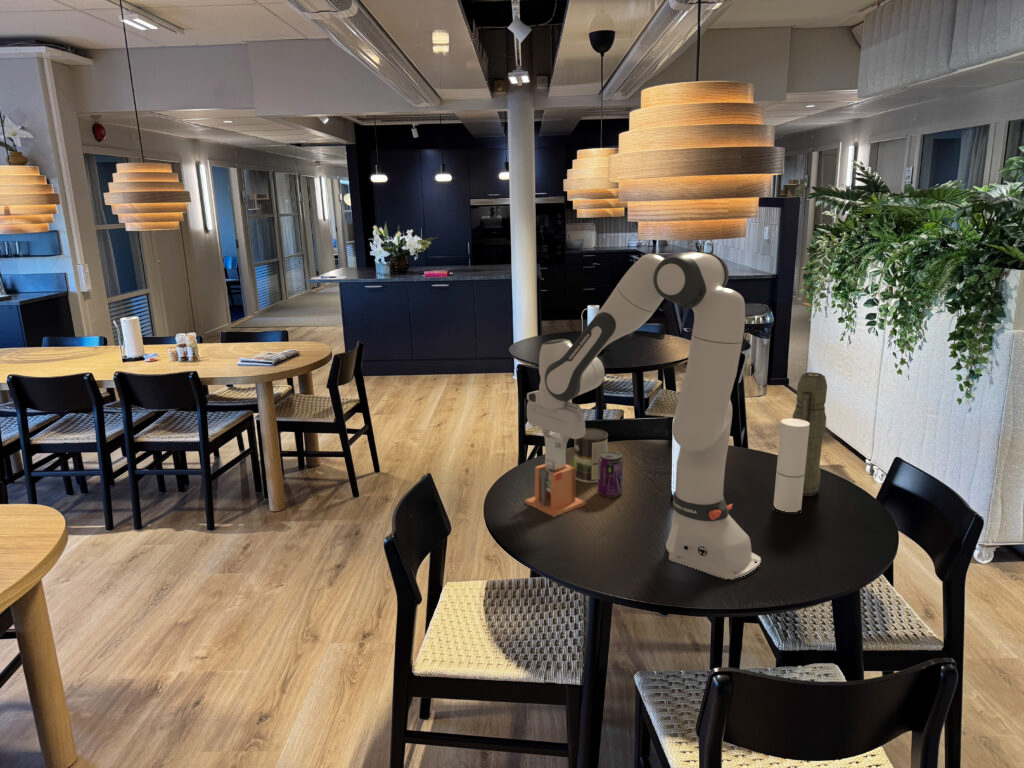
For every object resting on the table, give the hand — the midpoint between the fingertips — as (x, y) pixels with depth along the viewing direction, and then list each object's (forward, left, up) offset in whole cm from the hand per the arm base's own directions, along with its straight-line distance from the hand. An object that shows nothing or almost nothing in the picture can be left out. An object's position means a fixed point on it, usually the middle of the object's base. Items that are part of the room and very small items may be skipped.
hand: (555, 446), depth 196 cm
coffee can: (+8, -22, -17) cm, 29 cm away
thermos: (-40, -61, -17) cm, 75 cm away
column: (0, 0, -13) cm, 13 cm away
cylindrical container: (-44, -46, -17) cm, 66 cm away
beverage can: (-5, -17, -17) cm, 25 cm away
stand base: (0, 0, -17) cm, 17 cm away
